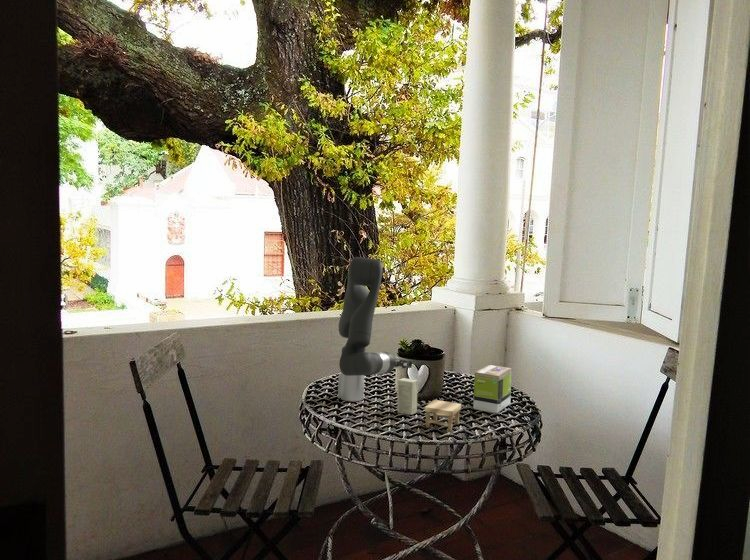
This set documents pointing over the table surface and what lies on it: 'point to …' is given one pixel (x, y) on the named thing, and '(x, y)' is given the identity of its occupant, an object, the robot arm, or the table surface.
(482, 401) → the tea box
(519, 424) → the table surface
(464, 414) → the table surface
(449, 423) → the wooden stool
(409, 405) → the skincare box
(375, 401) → the table surface
